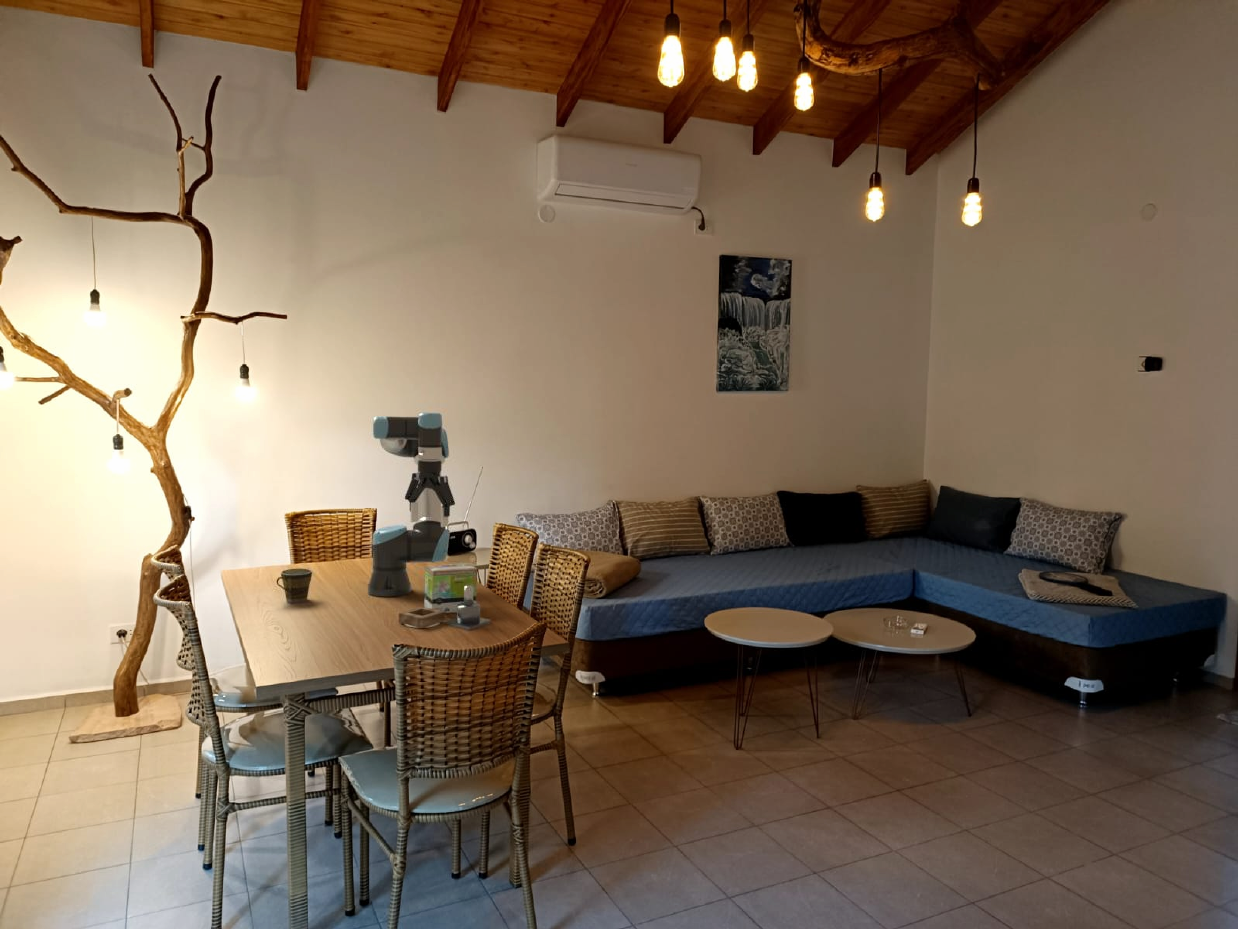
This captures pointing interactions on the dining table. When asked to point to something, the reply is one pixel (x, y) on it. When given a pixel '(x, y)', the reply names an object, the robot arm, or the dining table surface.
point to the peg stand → (468, 613)
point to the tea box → (448, 585)
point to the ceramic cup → (296, 584)
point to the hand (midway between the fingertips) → (429, 524)
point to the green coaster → (419, 627)
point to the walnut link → (421, 617)
